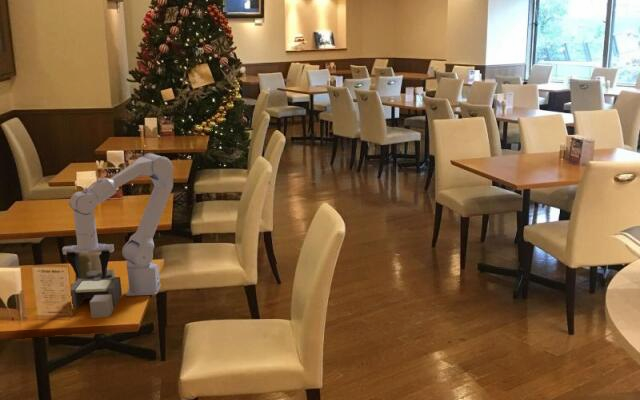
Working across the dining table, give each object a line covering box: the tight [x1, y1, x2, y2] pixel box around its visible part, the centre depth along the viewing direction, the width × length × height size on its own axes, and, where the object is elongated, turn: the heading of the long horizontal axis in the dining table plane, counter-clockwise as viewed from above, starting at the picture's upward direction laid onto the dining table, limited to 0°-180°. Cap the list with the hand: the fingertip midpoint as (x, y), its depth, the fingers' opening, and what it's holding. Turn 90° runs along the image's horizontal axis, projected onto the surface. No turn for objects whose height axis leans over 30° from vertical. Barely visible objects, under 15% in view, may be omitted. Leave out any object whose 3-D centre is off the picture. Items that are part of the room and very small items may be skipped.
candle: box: [89, 252, 109, 271], centre depth 221 cm, size 6×6×10 cm
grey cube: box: [89, 294, 114, 319], centre depth 193 cm, size 5×5×5 cm
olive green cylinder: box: [74, 253, 91, 283], centre depth 214 cm, size 6×6×11 cm
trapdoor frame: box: [70, 276, 123, 310], centre depth 201 cm, size 13×9×6 cm
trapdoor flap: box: [75, 269, 116, 292], centre depth 202 cm, size 9×12×4 cm
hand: (91, 275), depth 197 cm, fingers open, 7 cm apart
